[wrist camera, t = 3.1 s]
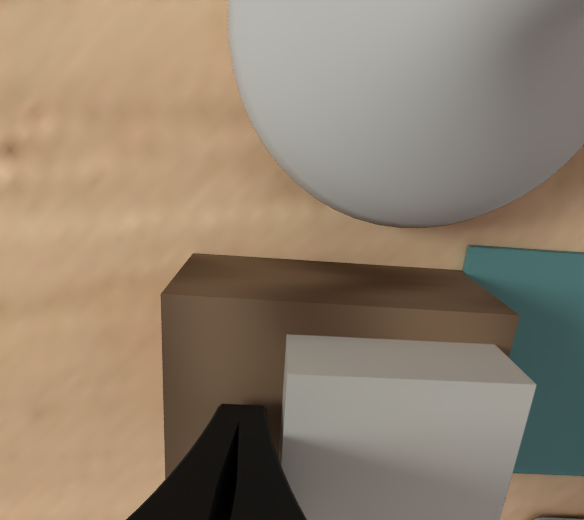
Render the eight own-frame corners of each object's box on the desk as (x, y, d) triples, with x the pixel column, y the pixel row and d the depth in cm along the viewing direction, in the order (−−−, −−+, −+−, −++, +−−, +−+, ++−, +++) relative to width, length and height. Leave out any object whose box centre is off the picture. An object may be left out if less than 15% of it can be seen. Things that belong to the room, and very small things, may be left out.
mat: (660, 257, 15) (667, 260, 15) (585, 470, 18) (590, 476, 18) (468, 245, 15) (471, 247, 15) (423, 463, 18) (425, 468, 17)
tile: (494, 344, 12) (536, 384, 10) (456, 506, 13) (486, 568, 11) (286, 334, 11) (287, 373, 9) (275, 501, 13) (274, 563, 11)
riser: (460, 270, 15) (519, 315, 11) (424, 444, 17) (464, 531, 14) (192, 253, 15) (160, 293, 11) (192, 434, 17) (166, 519, 13)
